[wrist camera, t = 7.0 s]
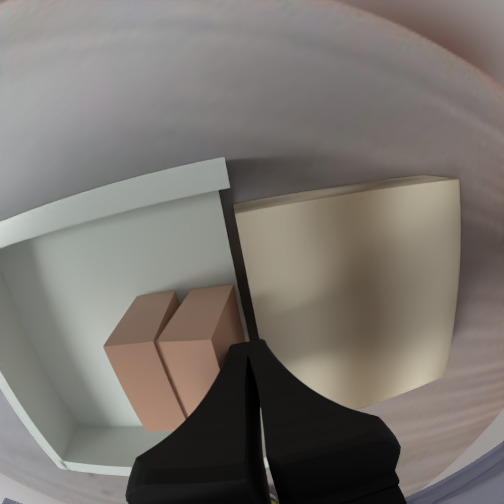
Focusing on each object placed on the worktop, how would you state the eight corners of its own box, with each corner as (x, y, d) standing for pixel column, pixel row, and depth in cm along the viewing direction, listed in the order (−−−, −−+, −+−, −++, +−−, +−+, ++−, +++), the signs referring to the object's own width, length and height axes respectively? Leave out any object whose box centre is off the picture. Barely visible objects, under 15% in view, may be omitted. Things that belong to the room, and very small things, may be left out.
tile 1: (210, 339, 9) (155, 341, 10) (238, 430, 11) (191, 429, 11) (233, 284, 14) (191, 289, 14) (250, 364, 15) (213, 366, 15)
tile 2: (152, 341, 10) (102, 346, 10) (190, 429, 11) (146, 431, 11) (175, 289, 14) (136, 296, 14) (199, 367, 15) (163, 371, 15)
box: (224, 160, 13) (224, 156, 9) (275, 415, 17) (285, 463, 13) (-14, 230, 13) (-58, 248, 9) (76, 429, 17) (59, 468, 13)
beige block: (422, 175, 14) (458, 179, 11) (420, 350, 17) (444, 375, 14) (232, 204, 14) (235, 213, 11) (270, 393, 17) (278, 429, 14)
